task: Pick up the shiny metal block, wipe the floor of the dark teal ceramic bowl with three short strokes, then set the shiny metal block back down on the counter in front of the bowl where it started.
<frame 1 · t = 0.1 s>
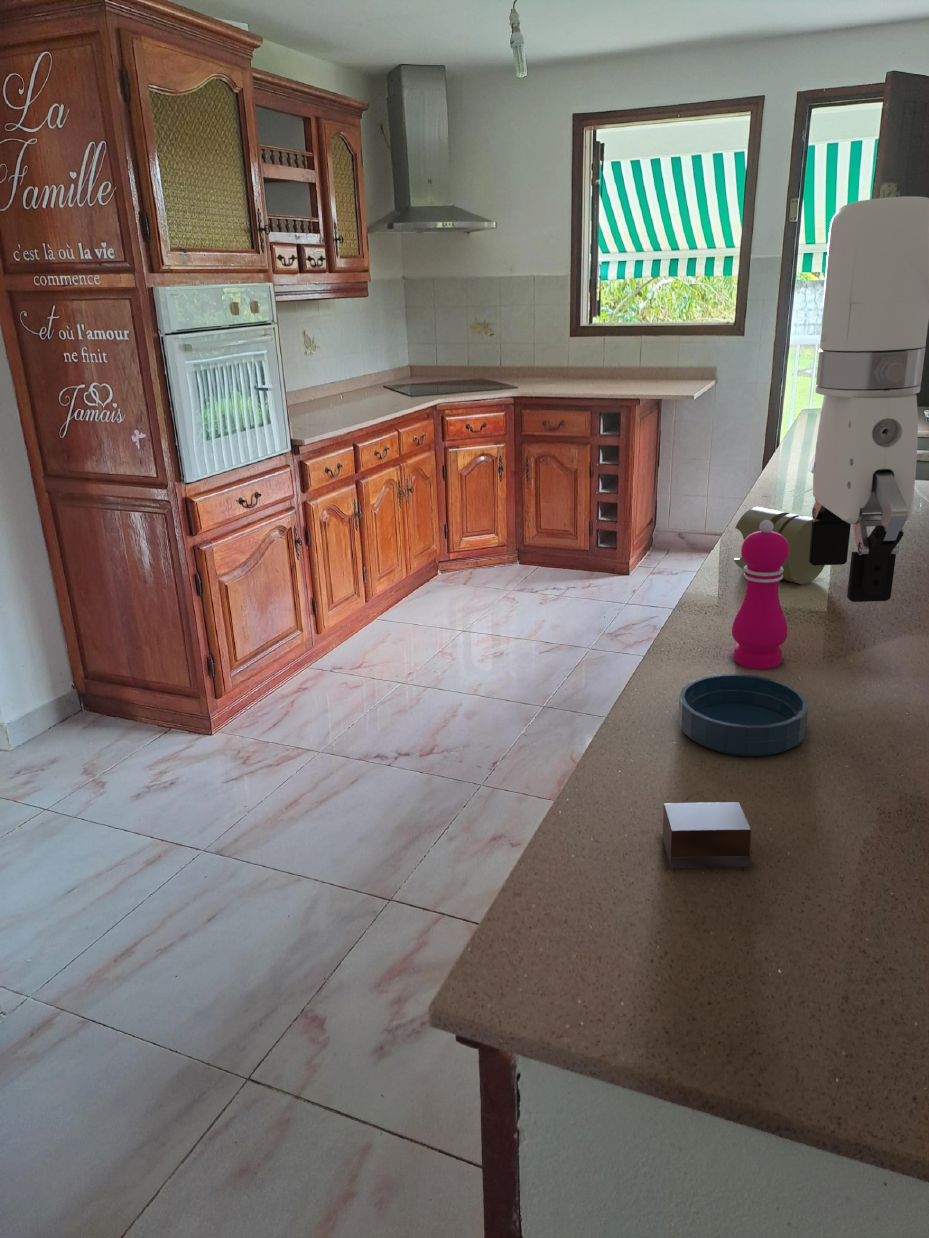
hand: (846, 581, 75), 25 cm above the counter, tool pointing down, fingers open, 9 cm apart
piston: (777, 576, 156), on the counter
bowl: (740, 729, 104), on the counter
pepper mill: (757, 661, 122), on the counter
shiny metal block: (704, 852, 82), on the counter
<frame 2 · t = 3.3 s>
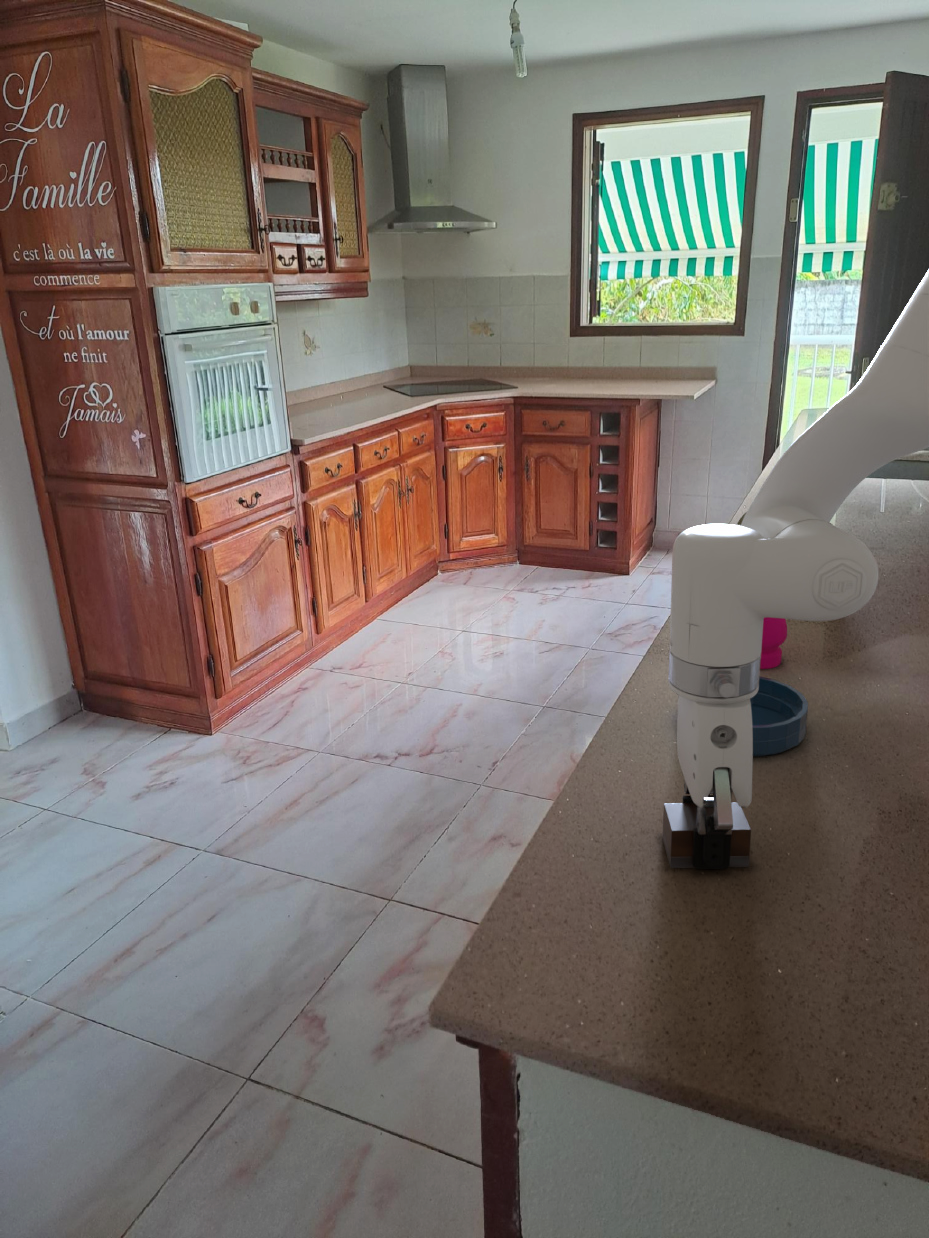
hand: (704, 847, 82), 1 cm above the counter, tool pointing down, fingers closed on shiny metal block, 4 cm apart
shiny metal block: (704, 852, 82), on the counter, touching gripper
everything else where it was.
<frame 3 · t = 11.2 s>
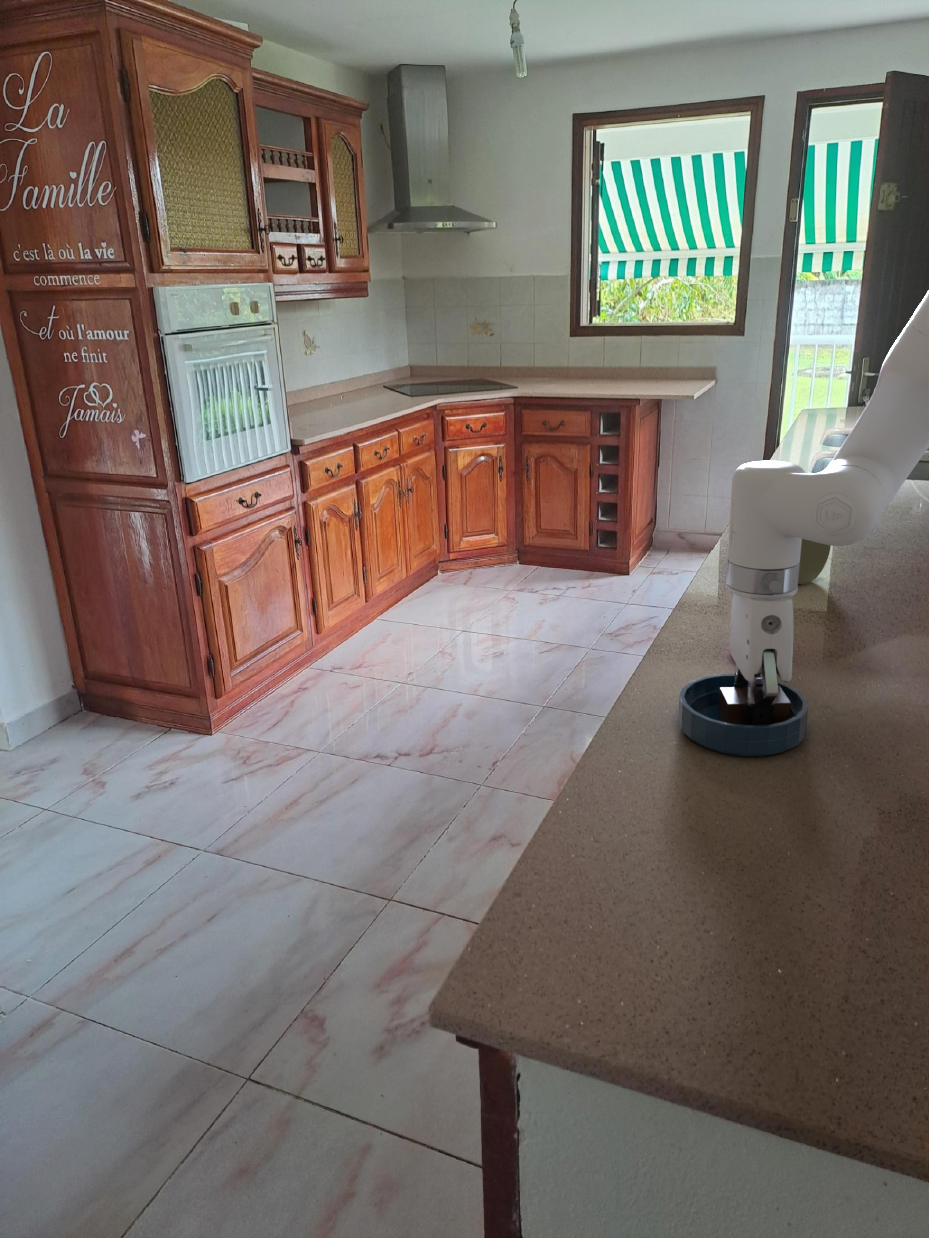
hand: (751, 722, 103), 1 cm above the counter, tool pointing down, fingers closed on shiny metal block, 4 cm apart
shiny metal block: (752, 725, 103), point 1 cm above the counter, touching gripper
everything else where it was.
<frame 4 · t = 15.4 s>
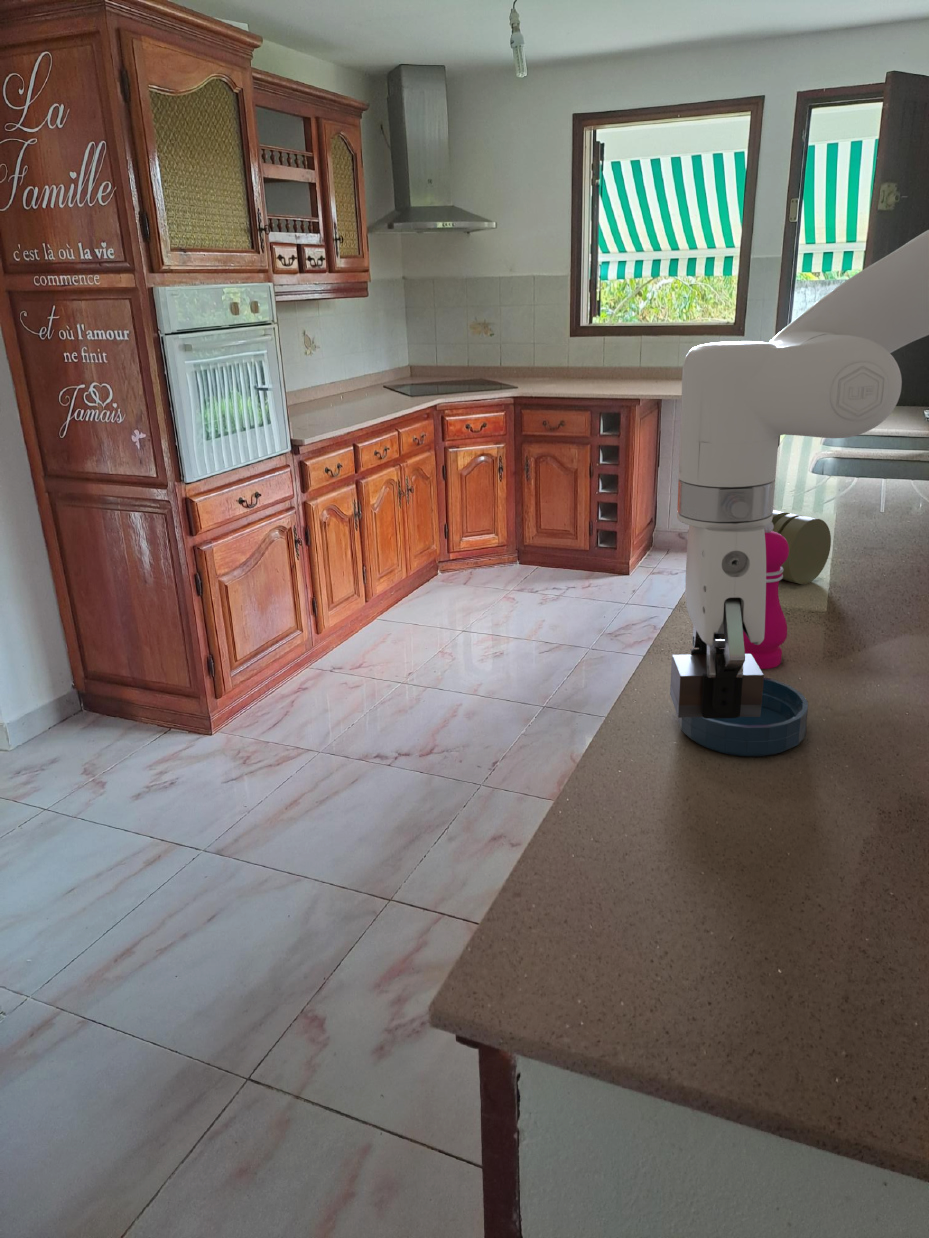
hand: (713, 701, 78), 15 cm above the counter, tool pointing down, fingers closed on shiny metal block, 4 cm apart
shiny metal block: (713, 705, 78), point 15 cm above the counter, touching gripper
everything else where it was.
when the fingers open (0 cm above the counter, at t = 19.0 s): shiny metal block stays where it is, on the counter.
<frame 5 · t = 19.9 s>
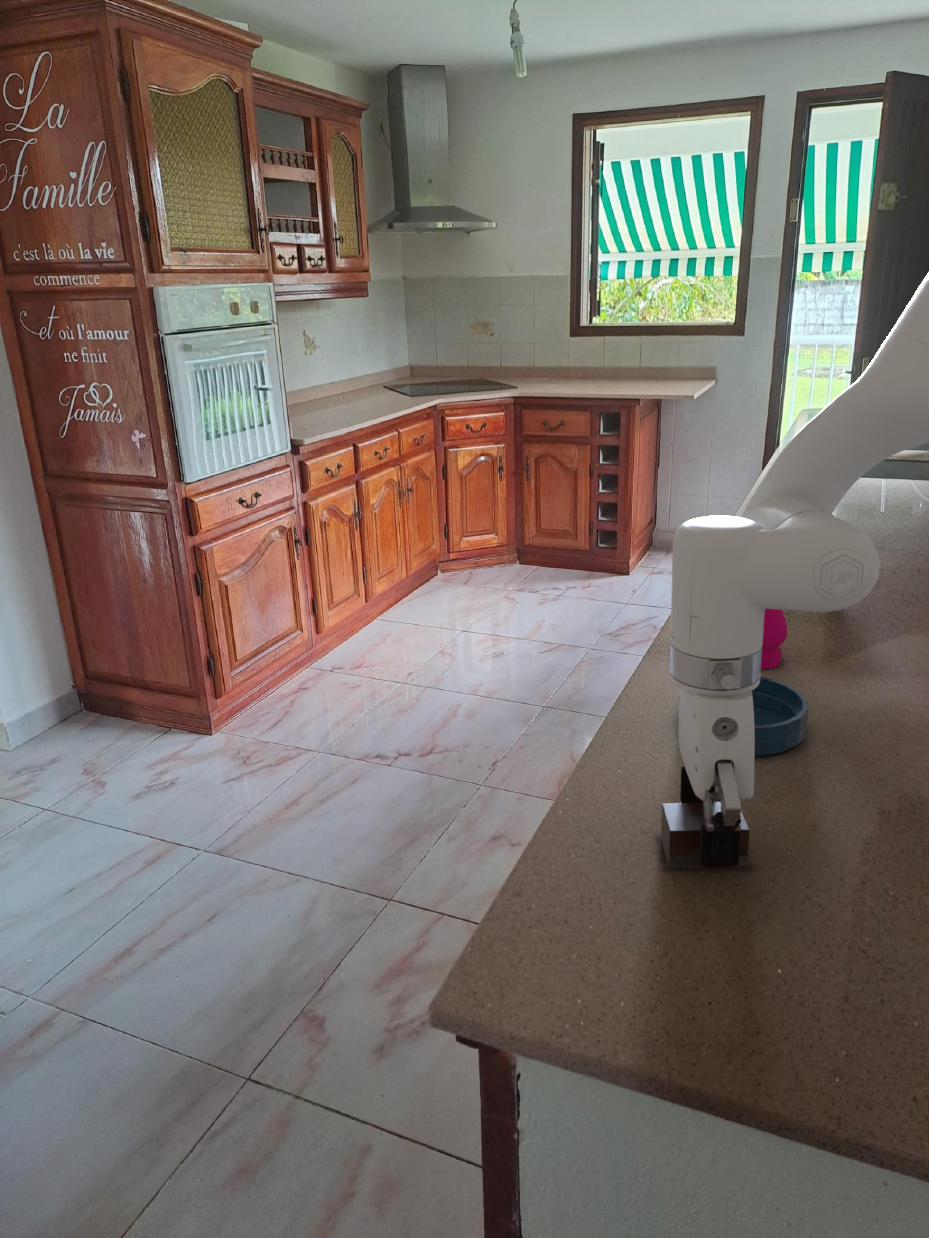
hand: (707, 832, 81), 2 cm above the counter, tool pointing down, fingers open, 9 cm apart
shiny metal block: (702, 852, 82), on the counter
everything else where it was.
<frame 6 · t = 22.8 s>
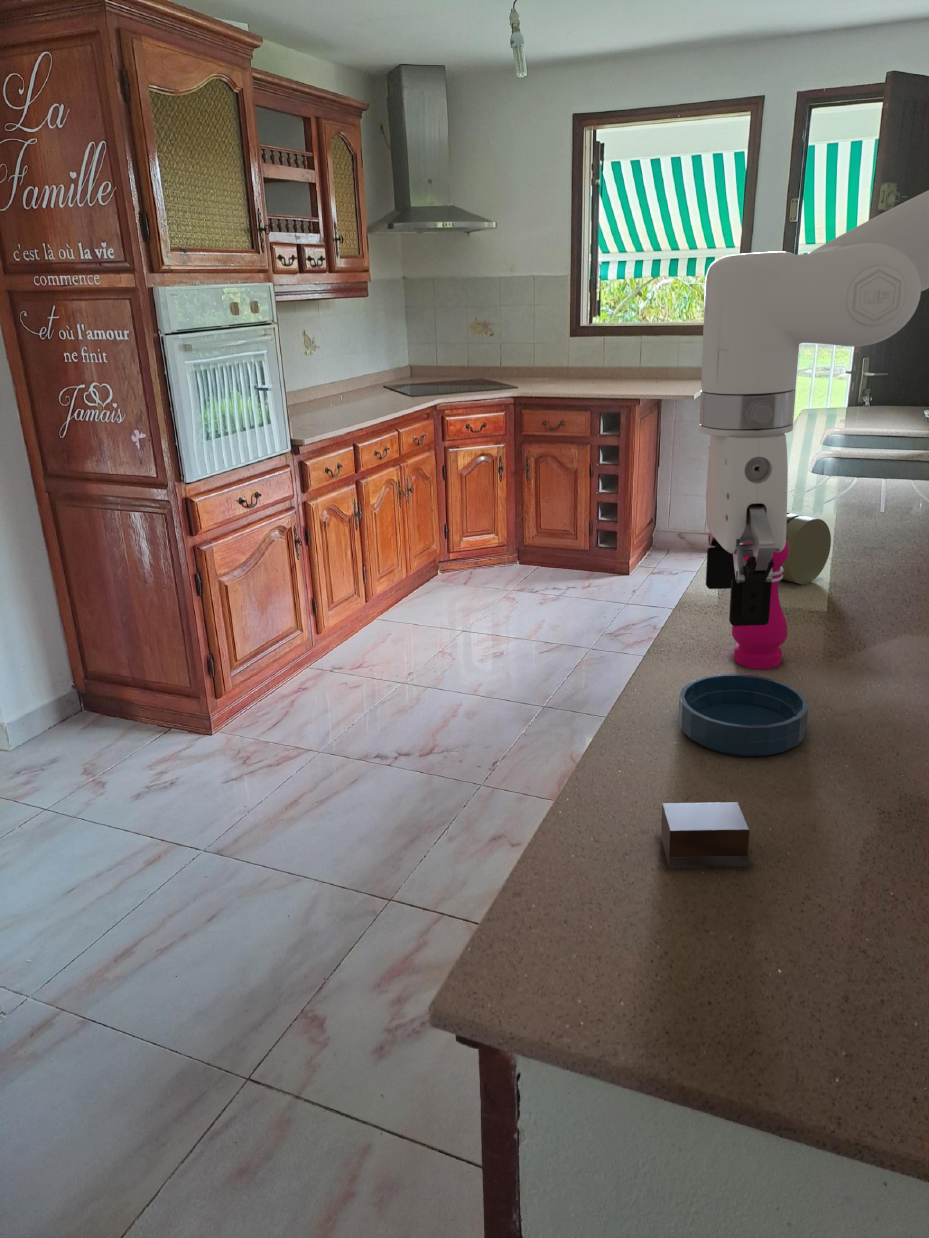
hand: (735, 604, 79), 22 cm above the counter, tool pointing down, fingers open, 9 cm apart
nothing on the counter moved.
at the end: shiny metal block 0.1 cm from the target spot on the counter beside the bowl, on the counter; shiny metal block tilted 0°; the gripper is holding nothing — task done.
